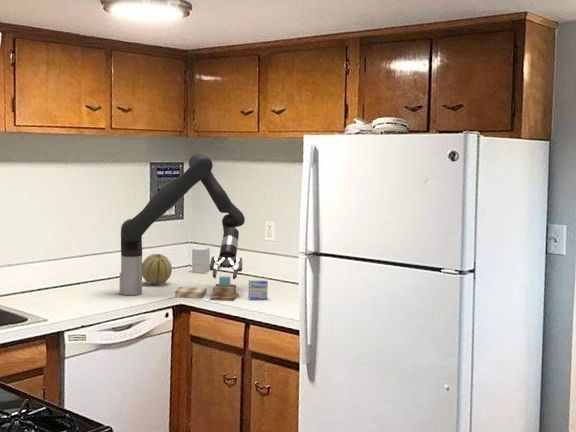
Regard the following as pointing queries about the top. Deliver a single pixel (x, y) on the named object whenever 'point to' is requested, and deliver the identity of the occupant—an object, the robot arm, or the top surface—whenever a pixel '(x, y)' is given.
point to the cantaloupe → (156, 269)
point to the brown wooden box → (224, 292)
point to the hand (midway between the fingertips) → (224, 277)
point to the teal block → (224, 281)
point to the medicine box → (258, 289)
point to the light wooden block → (190, 292)
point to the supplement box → (200, 260)
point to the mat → (224, 300)
